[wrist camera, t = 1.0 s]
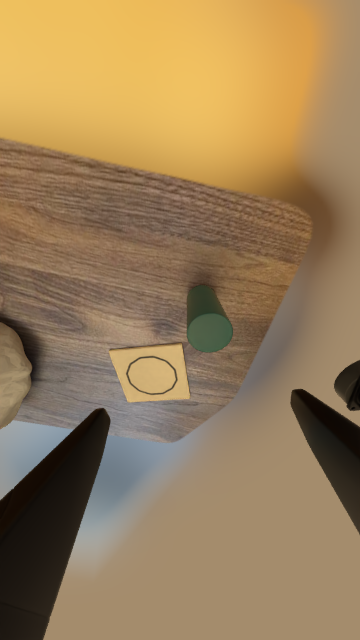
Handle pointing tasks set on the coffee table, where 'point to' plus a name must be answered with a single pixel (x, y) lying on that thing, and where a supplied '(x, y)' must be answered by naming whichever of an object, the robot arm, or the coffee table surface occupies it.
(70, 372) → the coffee table surface
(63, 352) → the coffee table surface
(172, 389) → the sketch card
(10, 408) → the decorative stone
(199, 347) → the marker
